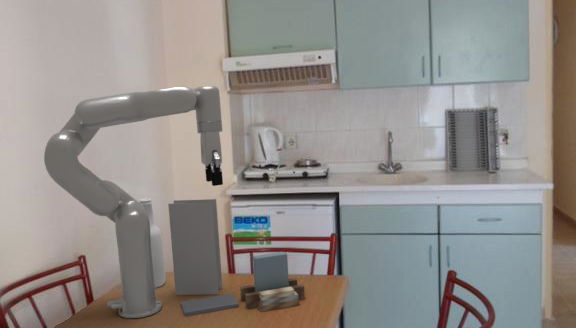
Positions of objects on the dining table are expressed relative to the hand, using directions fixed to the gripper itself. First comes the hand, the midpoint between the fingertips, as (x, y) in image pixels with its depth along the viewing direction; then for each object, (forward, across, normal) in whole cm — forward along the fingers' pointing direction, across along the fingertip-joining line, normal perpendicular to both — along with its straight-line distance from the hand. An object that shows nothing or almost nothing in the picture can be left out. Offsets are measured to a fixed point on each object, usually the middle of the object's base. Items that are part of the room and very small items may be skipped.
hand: (214, 183), depth 159 cm
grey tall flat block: (+37, -9, -6) cm, 38 cm away
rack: (+37, +9, +13) cm, 40 cm away
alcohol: (+36, -23, -20) cm, 47 cm away
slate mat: (+36, +5, -6) cm, 37 cm away
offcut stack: (+37, +15, +13) cm, 42 cm away
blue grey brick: (+37, +9, +13) cm, 40 cm away
